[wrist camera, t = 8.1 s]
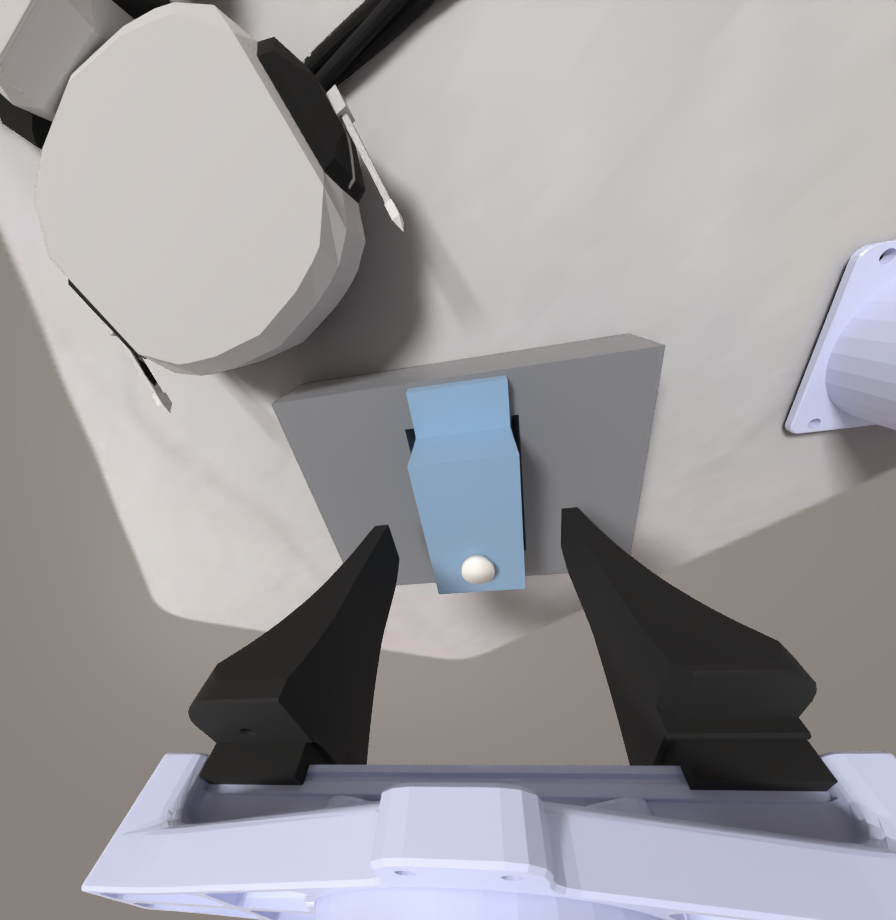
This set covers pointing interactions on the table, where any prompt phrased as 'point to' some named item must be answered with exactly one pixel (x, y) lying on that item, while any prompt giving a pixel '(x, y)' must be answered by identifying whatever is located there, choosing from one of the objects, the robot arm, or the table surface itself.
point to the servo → (468, 484)
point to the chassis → (534, 430)
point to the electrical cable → (361, 38)
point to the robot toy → (185, 177)
